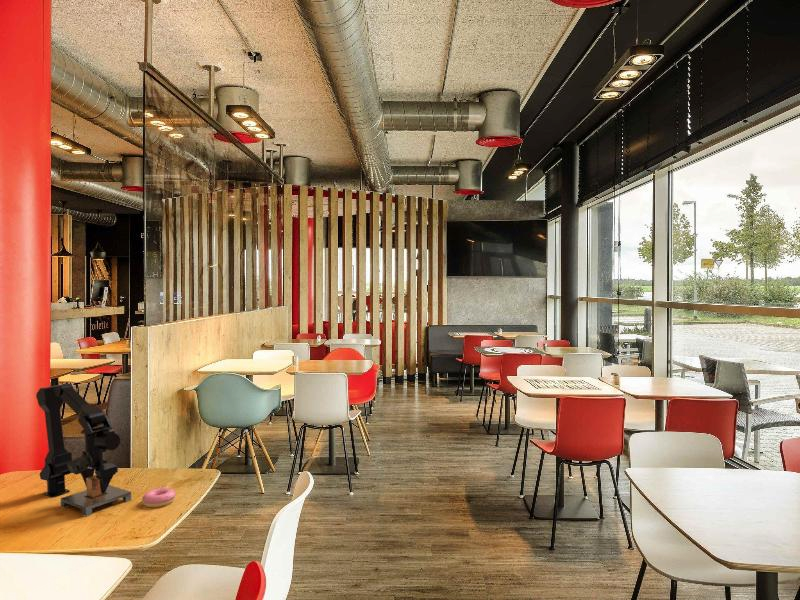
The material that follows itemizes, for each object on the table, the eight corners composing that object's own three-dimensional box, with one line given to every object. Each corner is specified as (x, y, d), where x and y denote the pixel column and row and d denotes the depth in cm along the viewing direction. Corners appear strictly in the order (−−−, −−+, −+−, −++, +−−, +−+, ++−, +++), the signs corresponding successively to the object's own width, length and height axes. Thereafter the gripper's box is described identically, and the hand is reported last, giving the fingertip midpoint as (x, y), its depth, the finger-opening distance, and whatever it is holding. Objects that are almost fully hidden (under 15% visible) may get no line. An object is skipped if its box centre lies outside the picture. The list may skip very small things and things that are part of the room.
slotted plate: (60, 506, 196) (60, 498, 196) (105, 491, 210) (105, 483, 210) (86, 516, 188) (85, 507, 187) (131, 500, 201) (130, 491, 201)
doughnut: (180, 496, 204) (180, 484, 204) (169, 508, 193) (169, 496, 193) (149, 497, 204) (149, 486, 204) (137, 509, 193) (136, 497, 193)
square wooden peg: (87, 504, 198) (86, 477, 197) (99, 500, 201) (98, 474, 201) (92, 506, 196) (91, 479, 195) (105, 502, 200) (104, 475, 199)
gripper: (56, 448, 196) (58, 493, 197) (85, 457, 186) (87, 503, 187) (88, 440, 206) (89, 483, 206) (118, 448, 196) (119, 492, 196)
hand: (95, 490), depth 198 cm, fingers open, 9 cm apart
